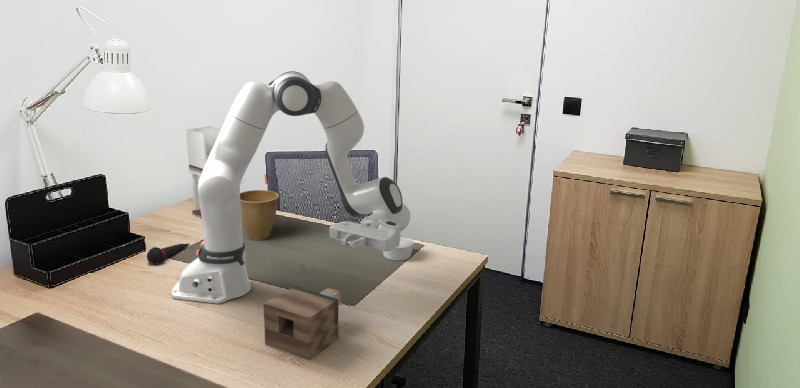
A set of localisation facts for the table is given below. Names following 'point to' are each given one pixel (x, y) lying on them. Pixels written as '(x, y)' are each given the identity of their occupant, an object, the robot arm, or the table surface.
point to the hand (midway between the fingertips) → (347, 244)
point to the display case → (199, 156)
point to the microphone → (163, 252)
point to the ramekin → (400, 250)
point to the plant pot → (258, 212)
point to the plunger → (332, 294)
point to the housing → (301, 322)
